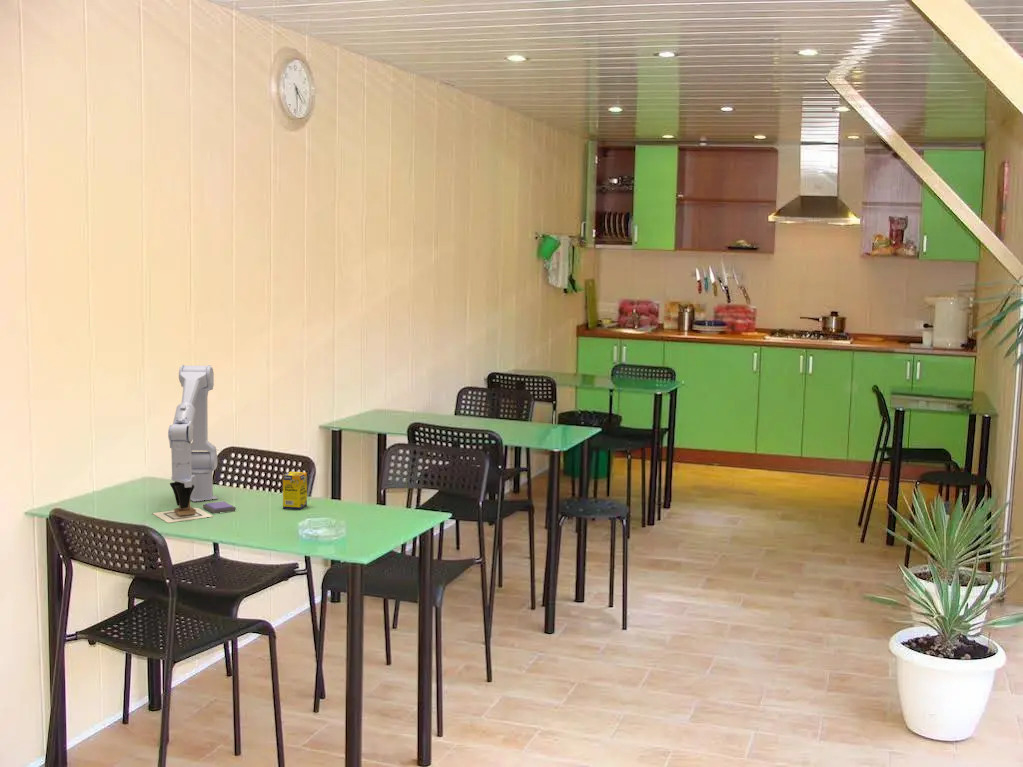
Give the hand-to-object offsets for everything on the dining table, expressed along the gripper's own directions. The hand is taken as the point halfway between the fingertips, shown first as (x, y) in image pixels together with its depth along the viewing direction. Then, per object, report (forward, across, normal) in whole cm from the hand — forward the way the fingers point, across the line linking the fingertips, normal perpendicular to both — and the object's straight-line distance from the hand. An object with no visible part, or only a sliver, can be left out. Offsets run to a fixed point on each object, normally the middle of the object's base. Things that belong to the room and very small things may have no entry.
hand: (182, 506), depth 347 cm
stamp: (+2, 0, -1) cm, 2 cm away
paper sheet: (+3, 0, 0) cm, 3 cm away
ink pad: (+3, +2, -12) cm, 12 cm away
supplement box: (+3, -6, -34) cm, 34 cm away
